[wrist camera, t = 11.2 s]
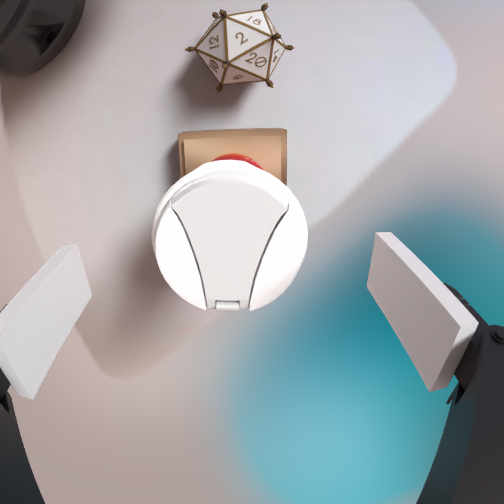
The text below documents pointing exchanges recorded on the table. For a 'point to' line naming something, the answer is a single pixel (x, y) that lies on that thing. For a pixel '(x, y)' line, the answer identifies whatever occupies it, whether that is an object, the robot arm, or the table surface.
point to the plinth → (235, 148)
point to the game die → (241, 47)
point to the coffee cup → (229, 235)
